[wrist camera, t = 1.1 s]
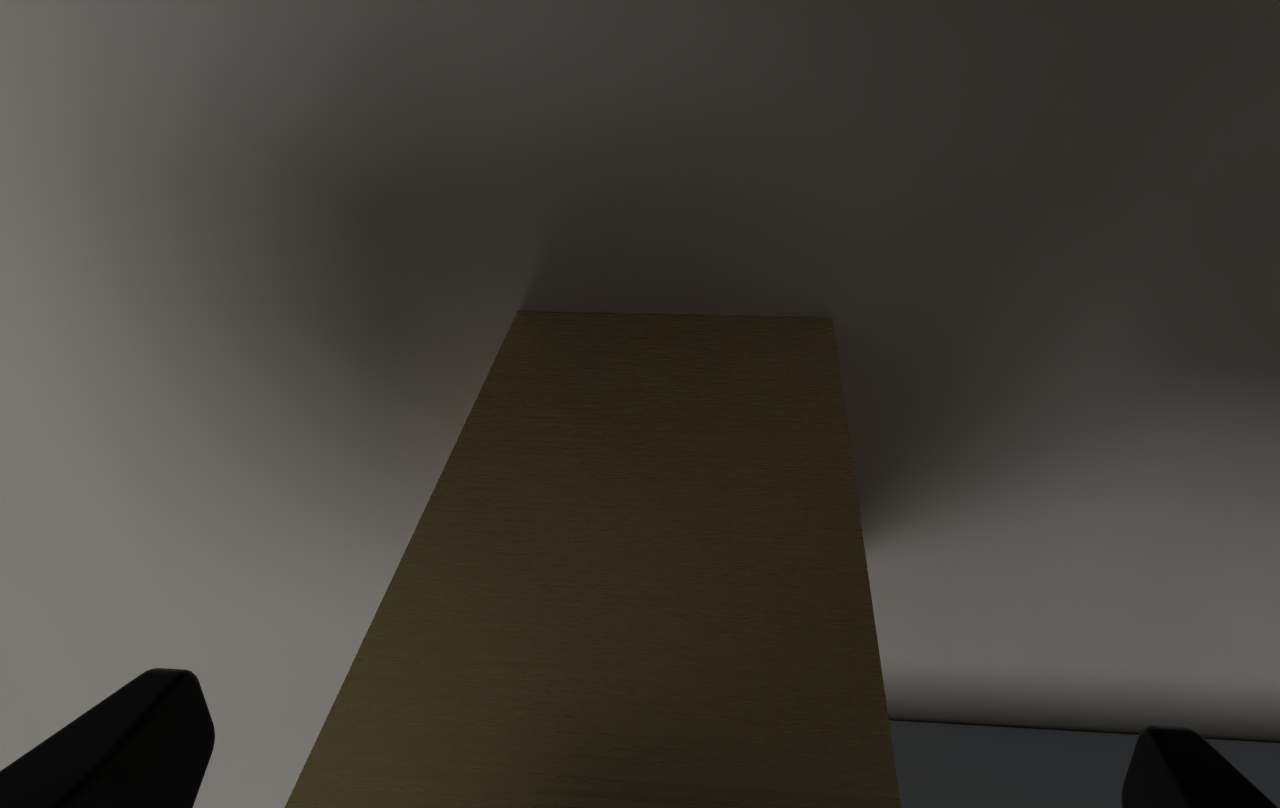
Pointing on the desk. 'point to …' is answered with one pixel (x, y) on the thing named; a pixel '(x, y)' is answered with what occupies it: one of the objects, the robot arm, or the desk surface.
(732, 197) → the desk surface
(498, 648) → the brass square bit
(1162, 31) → the desk surface
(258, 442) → the desk surface
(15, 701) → the desk surface
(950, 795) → the slate bore board
